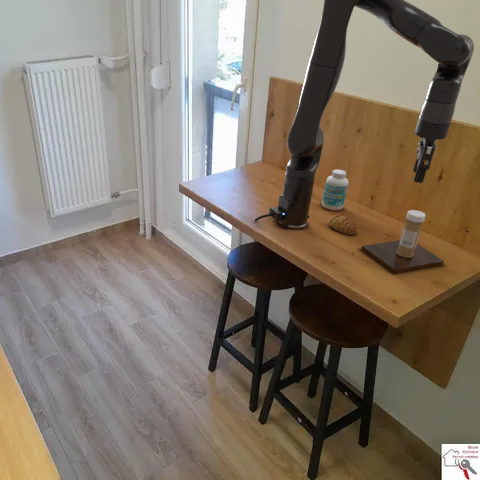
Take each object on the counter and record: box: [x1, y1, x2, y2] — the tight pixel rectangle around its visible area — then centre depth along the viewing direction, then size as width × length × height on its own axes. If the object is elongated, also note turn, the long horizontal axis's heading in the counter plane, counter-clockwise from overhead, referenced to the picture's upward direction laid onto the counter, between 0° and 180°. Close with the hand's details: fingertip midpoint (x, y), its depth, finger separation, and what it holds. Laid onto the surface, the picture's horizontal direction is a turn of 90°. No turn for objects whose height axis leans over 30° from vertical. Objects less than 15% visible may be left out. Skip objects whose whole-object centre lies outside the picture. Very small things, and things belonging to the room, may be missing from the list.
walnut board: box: [360, 239, 445, 275], centre depth 139 cm, size 17×14×2 cm
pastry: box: [328, 214, 359, 235], centre depth 154 cm, size 9×7×4 cm
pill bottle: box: [321, 169, 350, 211], centre depth 168 cm, size 8×7×14 cm
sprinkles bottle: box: [397, 209, 426, 258], centre depth 134 cm, size 5×5×14 cm
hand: (417, 176), depth 131 cm, fingers open, 8 cm apart
